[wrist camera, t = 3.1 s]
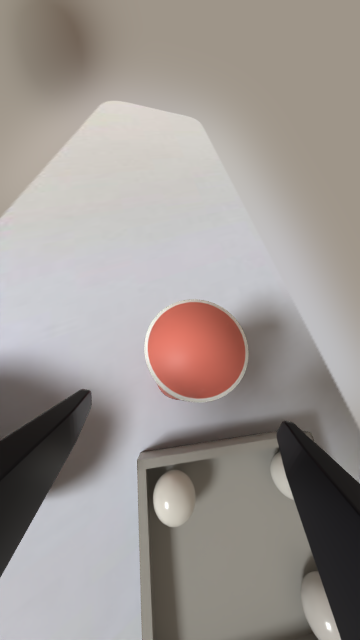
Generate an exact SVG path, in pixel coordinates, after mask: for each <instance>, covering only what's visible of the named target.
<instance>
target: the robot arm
mask: <svg viewBox="0 0 360 640" xmlns="http://www.w3.org/2000/svg"><path fill="white" fill-rule="evenodd" d="M91 405H92V396H91V391H90V390H85V389H81V390H79V391H78V392H76V393H75V394H73V395H72V396H70V397H68V398H67V399H65V400H64V401H62V402H61V403H59V404H57V405H56V406H54V407H53V408H51V409H50V410H48V411H46V412H45V413H43V414H42V415H40V416H38V417H37V418H35V419H34V420H32V421H31V422H29V423H27V424H26V425H24V426H23V427H21V428H20V429H18V430H16V431H15V432H13V433H12V434H10V435H9V436H7V437H5V438H4V439H2V440H1V441H0V577H1V575H2V574H3V572H4V570H5V568H6V567H7V565H8V563H9V561H10V559H11V558H12V556H13V554H14V552H15V550H16V549H17V547H18V545H19V543H20V541H21V540H22V538H23V536H24V534H25V533H26V531H27V529H28V527H29V525H30V524H31V522H32V520H33V518H34V516H35V515H36V513H37V511H38V509H39V507H40V506H41V504H42V502H43V500H44V499H45V497H46V495H47V493H48V491H49V490H50V488H51V486H52V484H53V482H54V481H55V479H56V477H57V475H58V474H59V472H60V470H61V468H62V466H63V465H64V463H65V461H66V459H67V457H68V456H69V454H70V452H71V450H72V448H73V447H74V445H75V443H76V440H77V438H78V436H79V434H80V432H81V429H82V427H83V425H84V422H85V420H86V418H87V416H88V413H89V411H90V409H91ZM277 442H278V446H279V450H280V454H281V458H282V462H283V466H284V470H285V474H286V477H287V480H288V483H289V486H290V489H291V492H292V495H293V498H294V501H295V504H296V507H297V510H298V513H299V516H300V519H301V522H302V525H303V528H304V531H305V534H306V537H307V540H308V543H309V546H310V549H311V552H312V555H313V558H314V561H315V563H316V566H317V569H318V572H319V575H320V578H321V581H322V584H323V587H324V590H325V593H326V596H327V599H328V602H329V605H330V608H331V611H332V614H333V617H334V620H335V623H336V626H337V629H338V632H339V635H340V638H341V640H360V484H359V483H358V482H357V481H356V480H355V479H354V478H353V477H352V476H351V475H350V474H349V473H347V472H346V471H345V470H344V469H343V468H342V467H341V466H340V465H339V464H338V463H337V462H335V461H334V460H333V459H332V458H331V457H330V456H329V455H328V454H327V453H326V452H325V451H323V450H322V449H321V448H320V447H319V446H318V445H317V444H316V443H315V442H314V441H313V440H311V439H310V438H309V437H308V436H307V435H306V434H305V433H304V432H303V431H302V430H301V429H299V428H298V427H297V426H296V425H295V424H294V423H292V422H287V421H283V422H282V424H281V425H280V427H279V429H278V431H277Z"/></svg>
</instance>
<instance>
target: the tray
mask: <svg viewBox="0 0 360 640" xmlns="http://www.w3.org/2000/svg"><path fill="white" fill-rule="evenodd" d="M303 432H304V433H305V434H306V435H307V436H308V437H309V438H310V439H311V440H313V437H312V434H311V433H310V432H306V431H303ZM313 441H314V440H313ZM278 452H280V450H279V446H278V442H277V431H274V432H268V433H261V434H255V435H248V436H242V437H235V438H229V439H223V440H216V441H210V442H203V443H197V444H191V445H184V446H178V447H171V448H165V449H159V450H152V451H146V452H141V453H140V455H139V457H138V460H137V477H138V513H139V549H140V584H141V620H142V640H318V638H317V637H316V636H315V634H314V633H313V631H312V629H311V627H310V626H309V623H308V621H307V619H306V617H305V614H304V611H303V607H302V602H301V584H302V581H303V579H304V577H305V576H306V575H307V574H308V573H309V572H312V571H318V569H317V566H316V563H315V561H314V558H313V555H312V552H311V549H310V546H309V543H308V540H307V537H306V534H305V531H304V528H303V525H302V522H301V519H300V516H299V513H298V510H297V507H296V504H295V501H294V500H292V499H289V498H288V497H286V496H285V495H283V494H282V493H281V492H280V491H279V490H278V488H277V487H276V486H275V484H274V482H273V480H272V477H271V473H270V463H271V460H272V458H273V457H274V455H275V454H277V453H278ZM174 469H176V470H180V471H183V472H184V473H186V474H187V475H188V476H189V478H190V479H191V481H192V483H193V485H194V488H195V493H196V502H195V507H194V511H193V513H192V515H191V517H190V518H189V520H188V521H187V522H186V523H185V524H183V525H181V526H179V527H169V526H167V525H165V524H164V523H162V522H161V521H160V519H159V518H158V516H157V514H156V512H155V509H154V504H153V493H154V489H155V486H156V483H157V481H158V480H159V478H160V477H161V476H162V475H163V474H164V473H165V472H167V471H169V470H174Z"/></svg>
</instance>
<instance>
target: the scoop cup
mask: <svg viewBox="0 0 360 640" xmlns="http://www.w3.org/2000/svg"><path fill="white" fill-rule="evenodd" d="M144 352H145V359H146V363H147V366H148V368H149V371H150V373H151V375H152V377H153V378H154V380H155V381H156V382H157V384H158V387H159V389H160V390H161V391H162V392H163V393H164V394H165V395H166V396H168V397H169V398H172V399H176V400H183V401H188V402H197V403H200V402H209V401H214V400H217V399H219V398H221V397H223V396H225V395H227V394H228V393H230V392H231V391H232V390H233V389H234V388H235V387H236V386H237V385H238V384H239V382H240V381H241V379H242V377H243V376H244V374H245V371H246V368H247V364H248V356H249V352H248V344H247V339H246V336H245V334H244V332H243V329H242V328H241V326H240V324H239V323H238V322H237V320H236V319H235V318H234V317H233V316H232V315H231V314H230V313H229V312H228V311H226V310H225V309H223V308H222V307H220V306H218V305H216V304H214V303H211V302H208V301H204V300H183V301H179V302H176V303H174V304H172V305H170V306H168V307H166V308H165V309H163V310H162V311H161V312H160V313H159V314H158V315H157V316H156V317H155V318H154V320H153V321H152V323H151V324H150V326H149V328H148V331H147V334H146V337H145V344H144Z"/></svg>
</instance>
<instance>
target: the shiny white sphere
mask: <svg viewBox="0 0 360 640" xmlns="http://www.w3.org/2000/svg"><path fill="white" fill-rule="evenodd" d="M301 602H302V607H303V611H304V614H305V617H306V619H307V621H308V623H309V626H310V627H311V629H312V631H313V633H314V634H315V636H316V637H317V638H318V640H341V638H340V635H339V632H338V629H337V626H336V623H335V620H334V617H333V614H332V611H331V608H330V605H329V602H328V599H327V596H326V593H325V590H324V587H323V584H322V581H321V578H320V575H319V572H318V571H312V572H309V573H308V574H307V575H306V576H305V577H304V579H303V581H302V584H301Z"/></svg>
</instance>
